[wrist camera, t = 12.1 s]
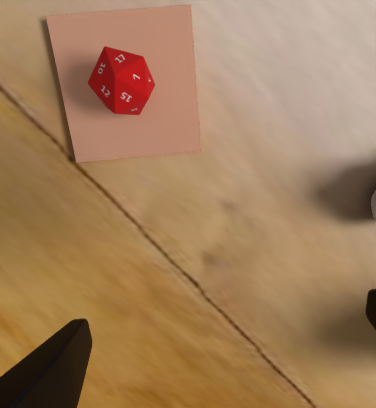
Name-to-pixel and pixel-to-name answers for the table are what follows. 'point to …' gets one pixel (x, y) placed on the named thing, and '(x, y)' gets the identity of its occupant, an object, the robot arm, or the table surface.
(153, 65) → the terracotta tile
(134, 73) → the die
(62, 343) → the robot arm
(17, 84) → the table surface
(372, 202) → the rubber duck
